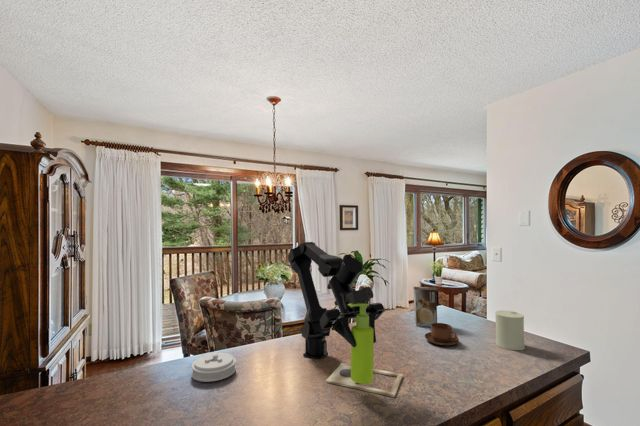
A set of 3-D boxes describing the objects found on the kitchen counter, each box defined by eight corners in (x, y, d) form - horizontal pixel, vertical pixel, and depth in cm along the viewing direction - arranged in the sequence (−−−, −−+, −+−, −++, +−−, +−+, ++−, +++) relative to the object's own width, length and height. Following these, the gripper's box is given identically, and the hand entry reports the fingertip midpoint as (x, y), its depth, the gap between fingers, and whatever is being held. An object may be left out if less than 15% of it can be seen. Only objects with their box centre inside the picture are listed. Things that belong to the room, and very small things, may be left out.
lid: (181, 380, 93) (181, 362, 93) (211, 362, 104) (211, 347, 105) (217, 388, 88) (217, 370, 88) (244, 368, 100) (244, 352, 100)
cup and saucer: (461, 340, 123) (460, 324, 123) (455, 351, 113) (455, 333, 113) (429, 334, 130) (429, 319, 130) (421, 344, 119) (421, 327, 120)
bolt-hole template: (326, 382, 91) (326, 379, 91) (341, 364, 102) (341, 361, 102) (394, 397, 83) (394, 393, 83) (402, 376, 94) (402, 373, 94)
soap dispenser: (344, 374, 87) (345, 300, 87) (367, 371, 89) (368, 299, 89) (351, 385, 81) (352, 306, 82) (376, 382, 83) (377, 305, 83)
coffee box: (434, 322, 144) (434, 286, 145) (437, 327, 138) (437, 289, 139) (413, 321, 146) (413, 286, 146) (415, 326, 140) (415, 289, 140)
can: (529, 346, 116) (528, 313, 117) (517, 352, 111) (516, 317, 111) (503, 339, 124) (502, 307, 124) (490, 344, 119) (490, 311, 119)
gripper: (324, 280, 85) (346, 335, 75) (381, 274, 93) (407, 324, 83) (311, 302, 92) (330, 356, 82) (365, 296, 100) (388, 343, 90)
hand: (365, 344), depth 84 cm, fingers closed on soap dispenser, 6 cm apart
